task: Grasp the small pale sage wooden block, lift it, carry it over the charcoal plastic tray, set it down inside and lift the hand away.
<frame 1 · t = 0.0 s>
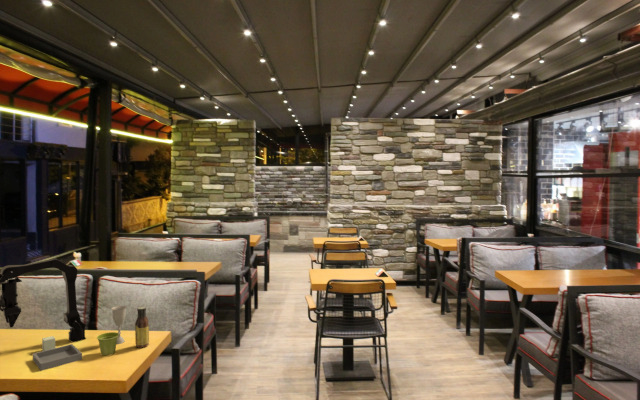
hand: (9, 324, 189), 15 cm above the table, fingers open, 9 cm apart
tray: (57, 359, 184), on the table
sage block: (48, 350, 195), on the table
sauce bottle: (142, 346, 200), on the table
plant pot: (108, 353, 192), on the table
chalice: (119, 342, 206), on the table
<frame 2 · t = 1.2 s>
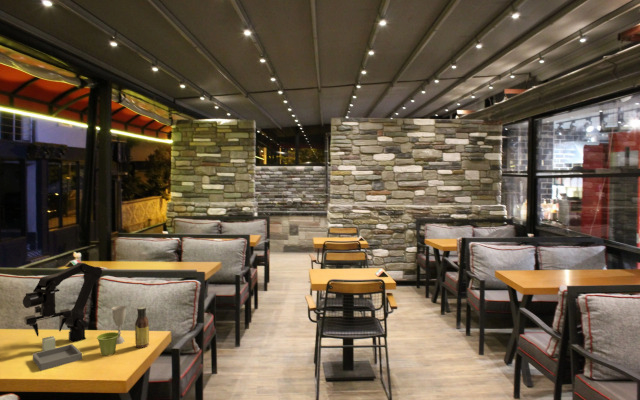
hand: (48, 333, 195), 8 cm above the table, fingers open, 9 cm apart
nothing on the table moved.
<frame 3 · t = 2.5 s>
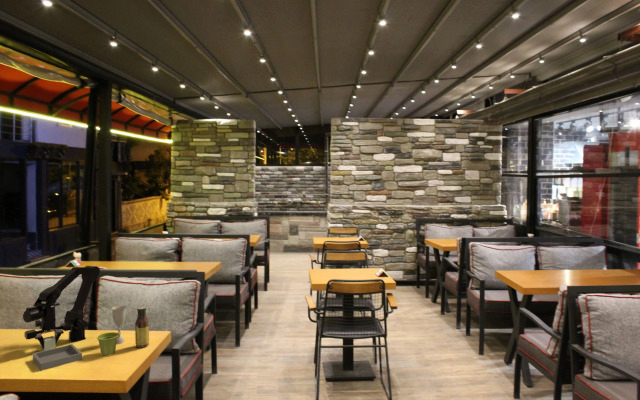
hand: (48, 347, 195), 1 cm above the table, fingers closed on sage block, 4 cm apart
sage block: (49, 350, 195), on the table, touching gripper
everything else where it was.
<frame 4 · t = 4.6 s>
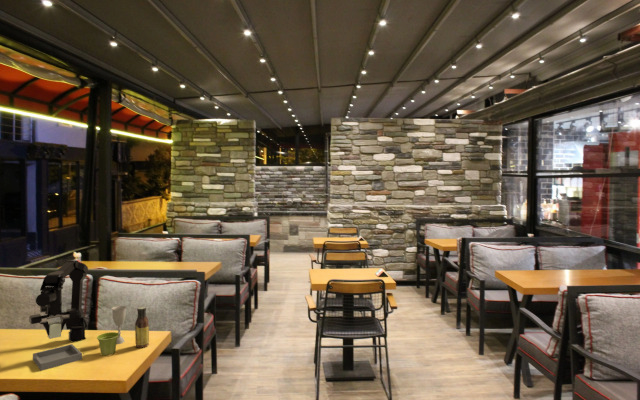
hand: (54, 334, 186), 11 cm above the table, fingers closed on sage block, 4 cm apart
sage block: (54, 336, 186), point 10 cm above the table, touching gripper
everything else where it was.
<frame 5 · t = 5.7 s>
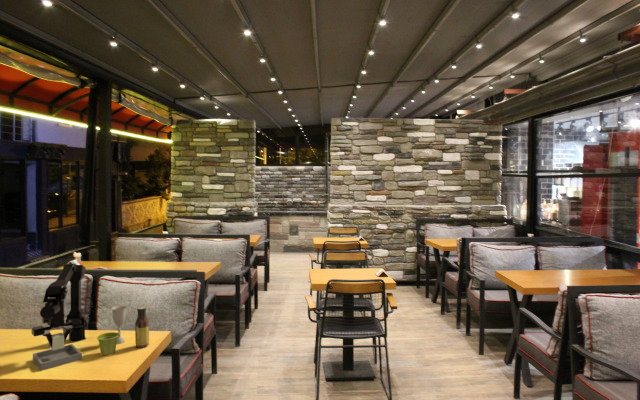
hand: (57, 345, 184), 7 cm above the table, fingers closed on sage block, 4 cm apart
sage block: (57, 347, 184), point 6 cm above the table, touching gripper
everything else where it was.
when the fingers open (3 cm above the table, at t = 6.7 s): sage block drops 1 cm, resting on tray.
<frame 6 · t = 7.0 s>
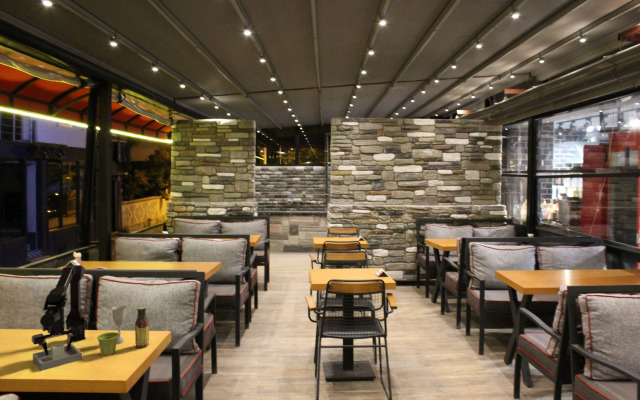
hand: (57, 352, 184), 3 cm above the table, fingers open, 8 cm apart
sage block: (57, 358, 184), point 1 cm above the table, touching tray
everything else where it was.
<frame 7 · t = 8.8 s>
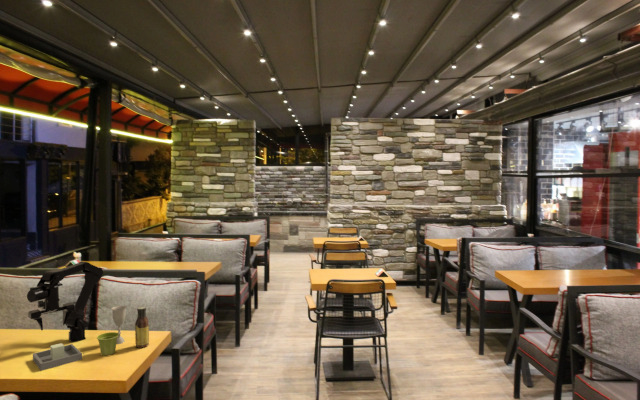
hand: (52, 327, 196), 11 cm above the table, fingers open, 9 cm apart
nothing on the table moved.
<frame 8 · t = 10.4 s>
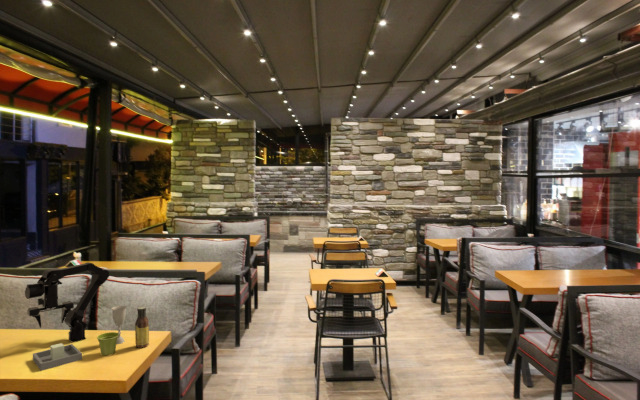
hand: (51, 325, 199), 11 cm above the table, fingers open, 9 cm apart
nothing on the table moved.
at the end: sage block inside the target area on the tray (0.1 cm from its centre), point 0.6 cm above the tray's base; sage block tilted 0°; the gripper is holding nothing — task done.
